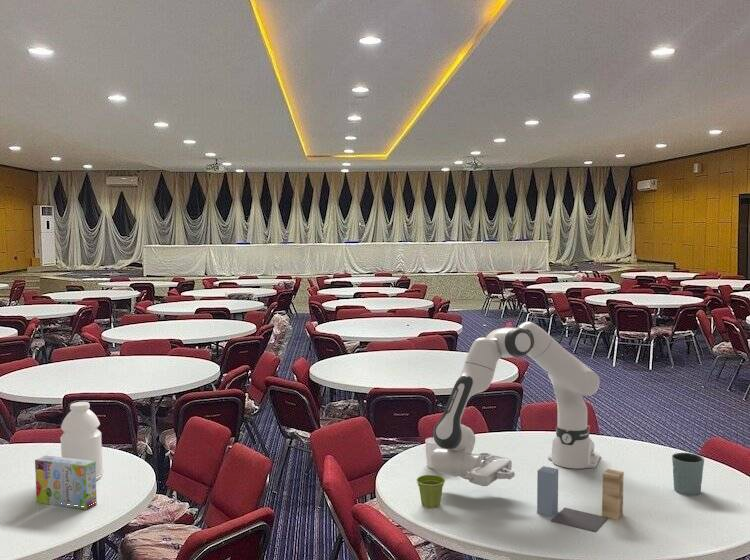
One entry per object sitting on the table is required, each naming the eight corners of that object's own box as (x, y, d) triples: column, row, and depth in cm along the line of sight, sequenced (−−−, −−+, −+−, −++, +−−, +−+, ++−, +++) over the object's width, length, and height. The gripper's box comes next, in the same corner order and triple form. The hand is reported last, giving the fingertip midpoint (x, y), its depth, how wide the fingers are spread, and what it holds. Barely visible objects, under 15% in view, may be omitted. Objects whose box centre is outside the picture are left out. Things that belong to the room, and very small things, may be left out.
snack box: (98, 504, 241) (96, 460, 239) (86, 510, 235) (84, 465, 234) (47, 496, 248) (45, 454, 246) (35, 503, 242) (33, 459, 241)
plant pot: (437, 513, 231) (437, 486, 231) (411, 507, 236) (411, 481, 236) (449, 503, 239) (449, 477, 238) (424, 497, 244) (424, 472, 243)
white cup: (444, 470, 271) (444, 444, 270) (423, 468, 273) (423, 442, 272) (446, 463, 279) (446, 437, 278) (426, 461, 280) (426, 436, 280)
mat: (564, 508, 234) (564, 507, 234) (607, 518, 226) (607, 517, 226) (550, 521, 224) (550, 520, 224) (595, 531, 216) (595, 531, 216)
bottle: (53, 482, 261) (50, 406, 259) (82, 469, 274) (79, 397, 272) (83, 487, 256) (80, 410, 254) (111, 474, 269) (108, 400, 267)
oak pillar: (606, 511, 232) (607, 468, 231) (622, 514, 229) (623, 471, 228) (602, 516, 228) (602, 473, 227) (617, 520, 225) (618, 476, 224)
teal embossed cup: (703, 488, 251) (704, 454, 250) (703, 498, 242) (704, 463, 241) (671, 484, 255) (672, 451, 254) (670, 493, 246) (671, 459, 245)
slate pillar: (543, 507, 235) (543, 466, 234) (557, 511, 232) (558, 469, 231) (537, 513, 231) (537, 470, 230) (552, 516, 228) (552, 473, 227)
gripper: (460, 467, 237) (499, 475, 229) (488, 450, 253) (525, 458, 245) (460, 486, 237) (499, 494, 229) (488, 468, 254) (525, 476, 246)
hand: (512, 475), depth 237 cm, fingers closed
